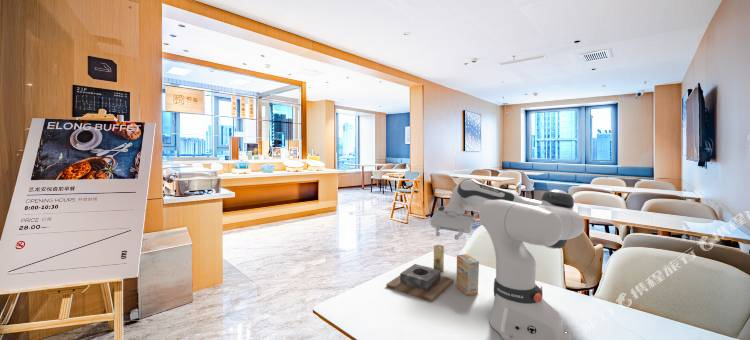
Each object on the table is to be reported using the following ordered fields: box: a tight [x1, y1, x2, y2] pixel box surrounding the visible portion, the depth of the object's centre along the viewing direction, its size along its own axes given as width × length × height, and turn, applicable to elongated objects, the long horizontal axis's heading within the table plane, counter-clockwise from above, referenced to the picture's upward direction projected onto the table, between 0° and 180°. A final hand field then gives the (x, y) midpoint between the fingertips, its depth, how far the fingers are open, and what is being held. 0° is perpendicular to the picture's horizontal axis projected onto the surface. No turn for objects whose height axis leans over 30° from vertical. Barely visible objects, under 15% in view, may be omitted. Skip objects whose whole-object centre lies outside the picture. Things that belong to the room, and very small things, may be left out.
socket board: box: [385, 263, 454, 303], centre depth 124 cm, size 20×20×5 cm
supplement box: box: [455, 253, 480, 296], centre depth 118 cm, size 8×5×13 cm, turn 17°
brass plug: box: [433, 244, 445, 273], centre depth 137 cm, size 4×4×11 cm
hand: (446, 237), depth 144 cm, fingers open, 8 cm apart
